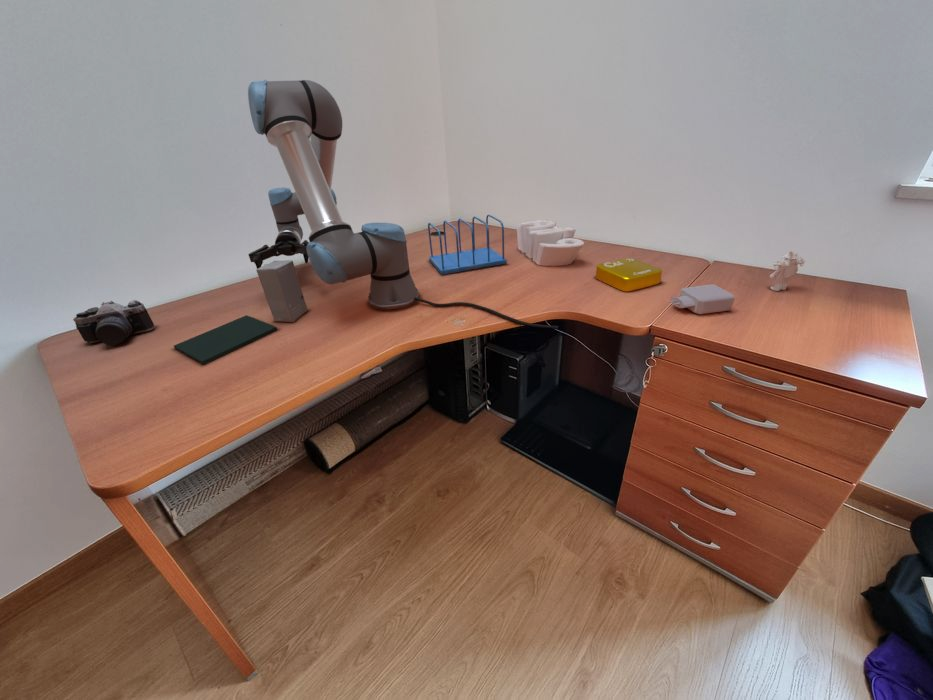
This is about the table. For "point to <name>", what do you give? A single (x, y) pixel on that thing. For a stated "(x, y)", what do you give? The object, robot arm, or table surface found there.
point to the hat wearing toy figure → (786, 270)
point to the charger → (704, 299)
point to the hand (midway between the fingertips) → (281, 261)
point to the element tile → (628, 274)
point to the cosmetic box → (282, 290)
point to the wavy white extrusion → (548, 243)
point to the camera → (113, 322)
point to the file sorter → (466, 252)
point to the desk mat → (224, 339)
